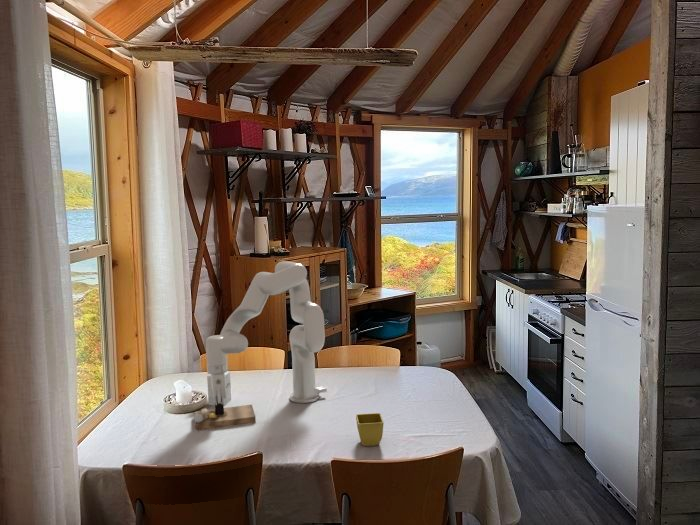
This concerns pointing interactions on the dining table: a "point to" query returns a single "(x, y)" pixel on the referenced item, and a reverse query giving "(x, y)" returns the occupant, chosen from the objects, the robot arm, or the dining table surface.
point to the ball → (212, 415)
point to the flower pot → (370, 428)
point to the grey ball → (198, 418)
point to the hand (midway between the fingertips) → (219, 413)
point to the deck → (226, 417)
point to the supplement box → (228, 390)
